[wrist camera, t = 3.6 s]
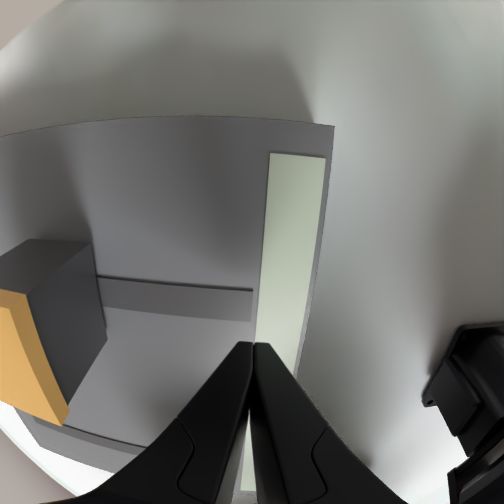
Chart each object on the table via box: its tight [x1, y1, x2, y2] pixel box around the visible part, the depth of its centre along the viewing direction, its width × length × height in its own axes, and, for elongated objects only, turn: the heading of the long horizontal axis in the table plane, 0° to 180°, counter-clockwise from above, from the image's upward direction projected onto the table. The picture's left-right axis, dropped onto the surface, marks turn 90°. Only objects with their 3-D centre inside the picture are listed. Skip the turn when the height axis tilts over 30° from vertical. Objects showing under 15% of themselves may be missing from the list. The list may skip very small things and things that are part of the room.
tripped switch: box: [0, 239, 108, 427], centre depth 8 cm, size 3×4×4 cm
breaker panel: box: [0, 116, 335, 495], centre depth 13 cm, size 18×22×3 cm
